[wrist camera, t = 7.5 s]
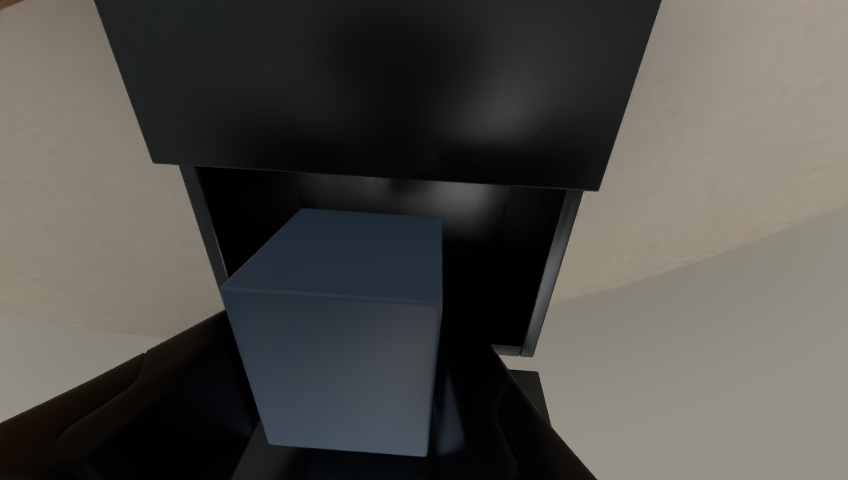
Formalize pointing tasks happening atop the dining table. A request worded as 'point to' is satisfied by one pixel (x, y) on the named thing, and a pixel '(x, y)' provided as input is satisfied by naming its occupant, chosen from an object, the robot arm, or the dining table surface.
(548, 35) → the black cupboard
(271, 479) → the hatch
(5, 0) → the laundry tray
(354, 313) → the blue-grey block
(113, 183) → the dining table surface
